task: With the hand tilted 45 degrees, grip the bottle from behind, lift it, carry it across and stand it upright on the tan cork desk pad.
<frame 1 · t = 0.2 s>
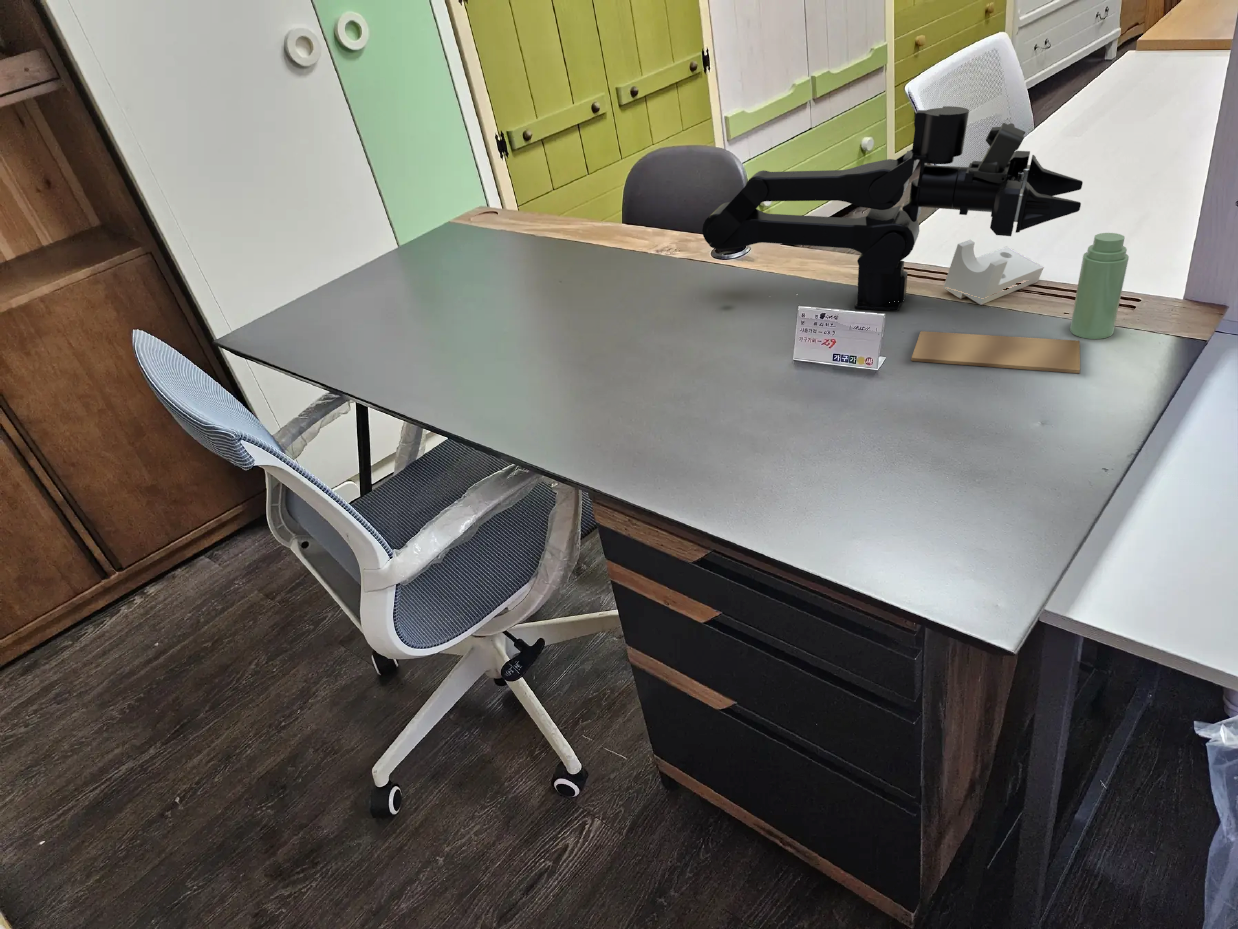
hand: (1081, 195, 112), 16 cm above the table, tool horizontal, fingers open, 9 cm apart
bottle: (1091, 331, 114), on the table
cork pad: (994, 352, 112), on the table
bracket: (994, 289, 131), on the table
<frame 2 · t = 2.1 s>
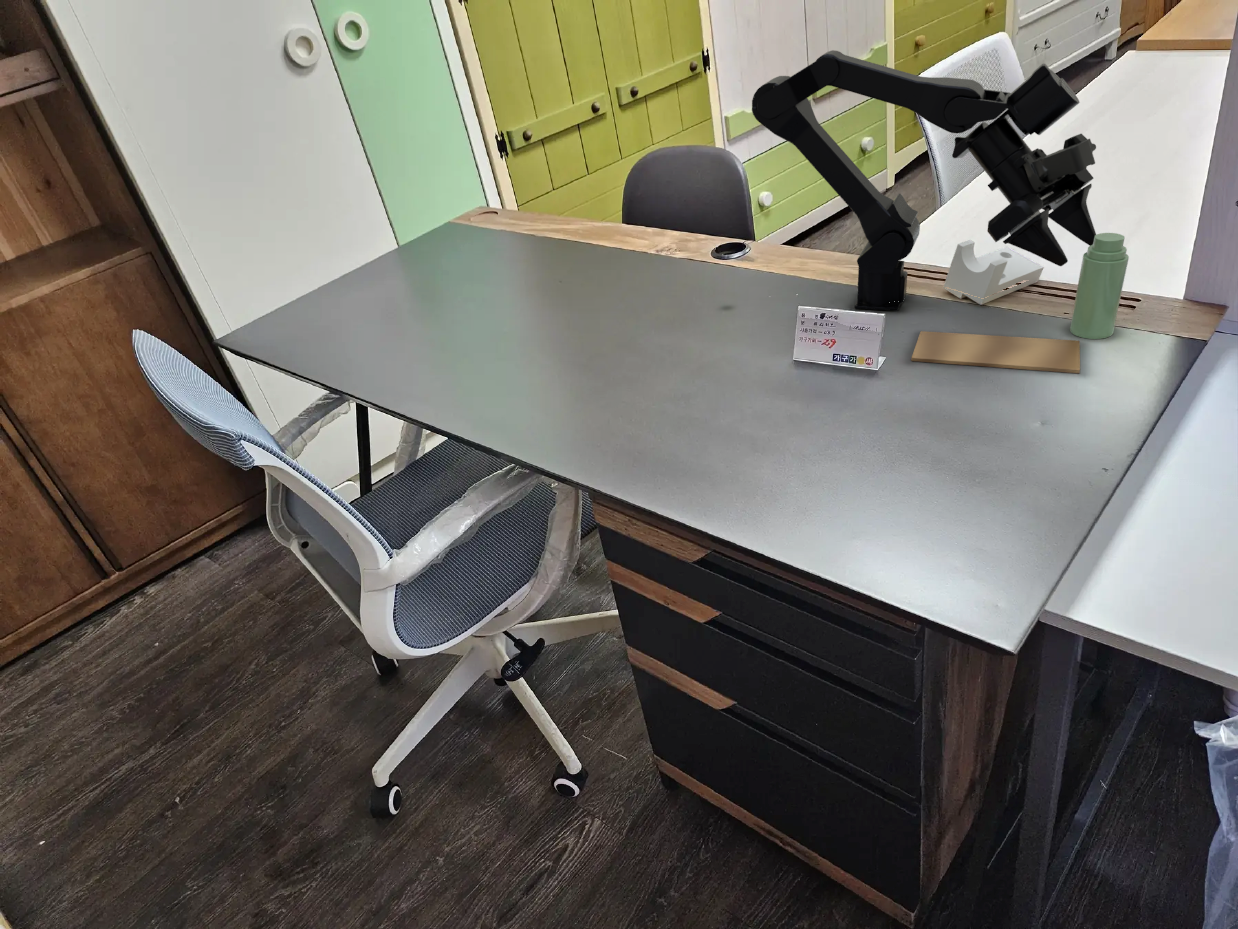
hand: (1079, 253, 111), 10 cm above the table, tool tilted 45°, fingers open, 9 cm apart
nothing on the table moved.
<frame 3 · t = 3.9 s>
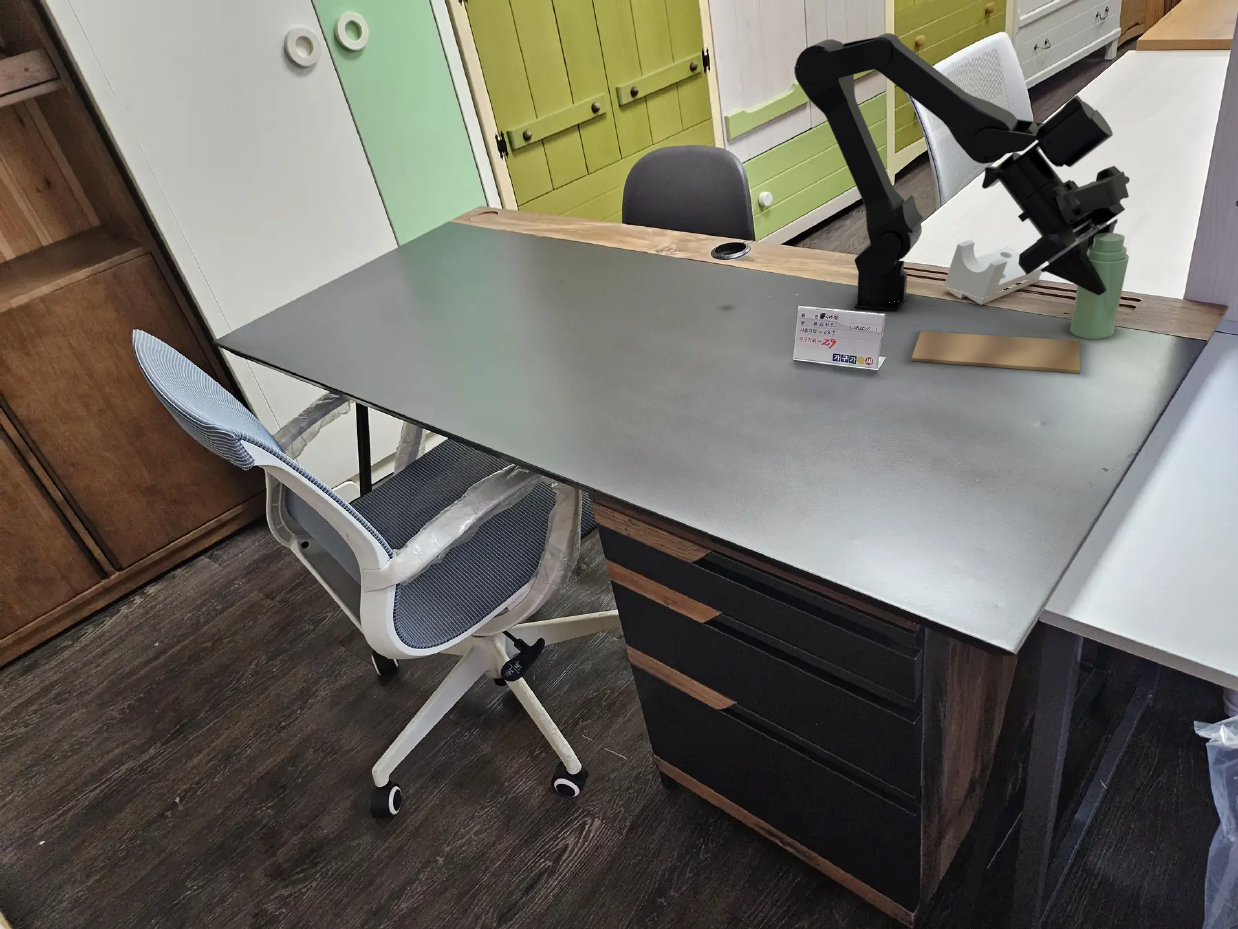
hand: (1111, 286, 110), 7 cm above the table, tool tilted 45°, fingers closed on bottle, 5 cm apart
bottle: (1091, 331, 114), on the table, touching gripper
everything else where it was.
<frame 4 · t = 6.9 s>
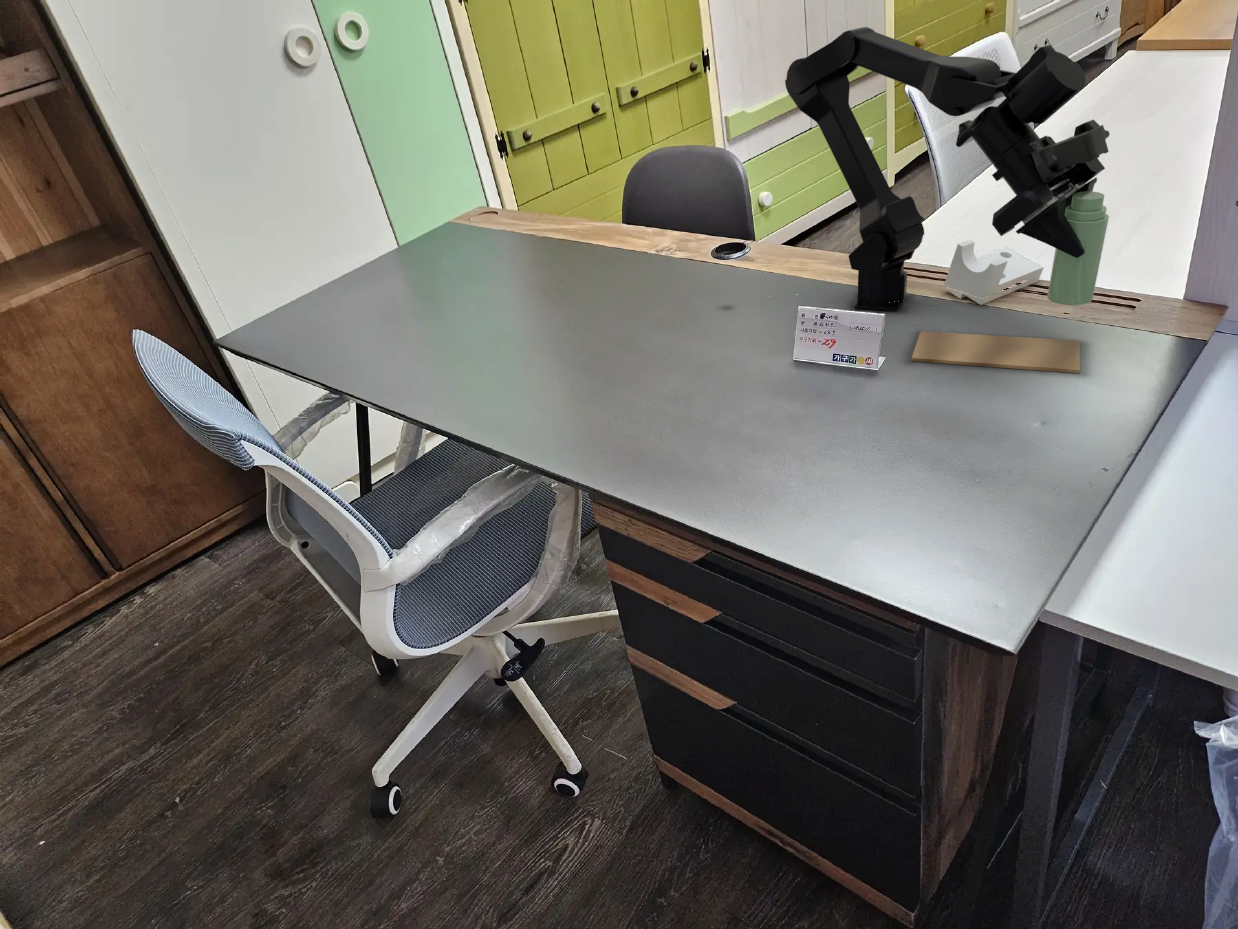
hand: (1090, 249, 104), 13 cm above the table, tool tilted 45°, fingers closed on bottle, 5 cm apart
bottle: (1069, 297, 108), point 7 cm above the table, touching gripper
everything else where it was.
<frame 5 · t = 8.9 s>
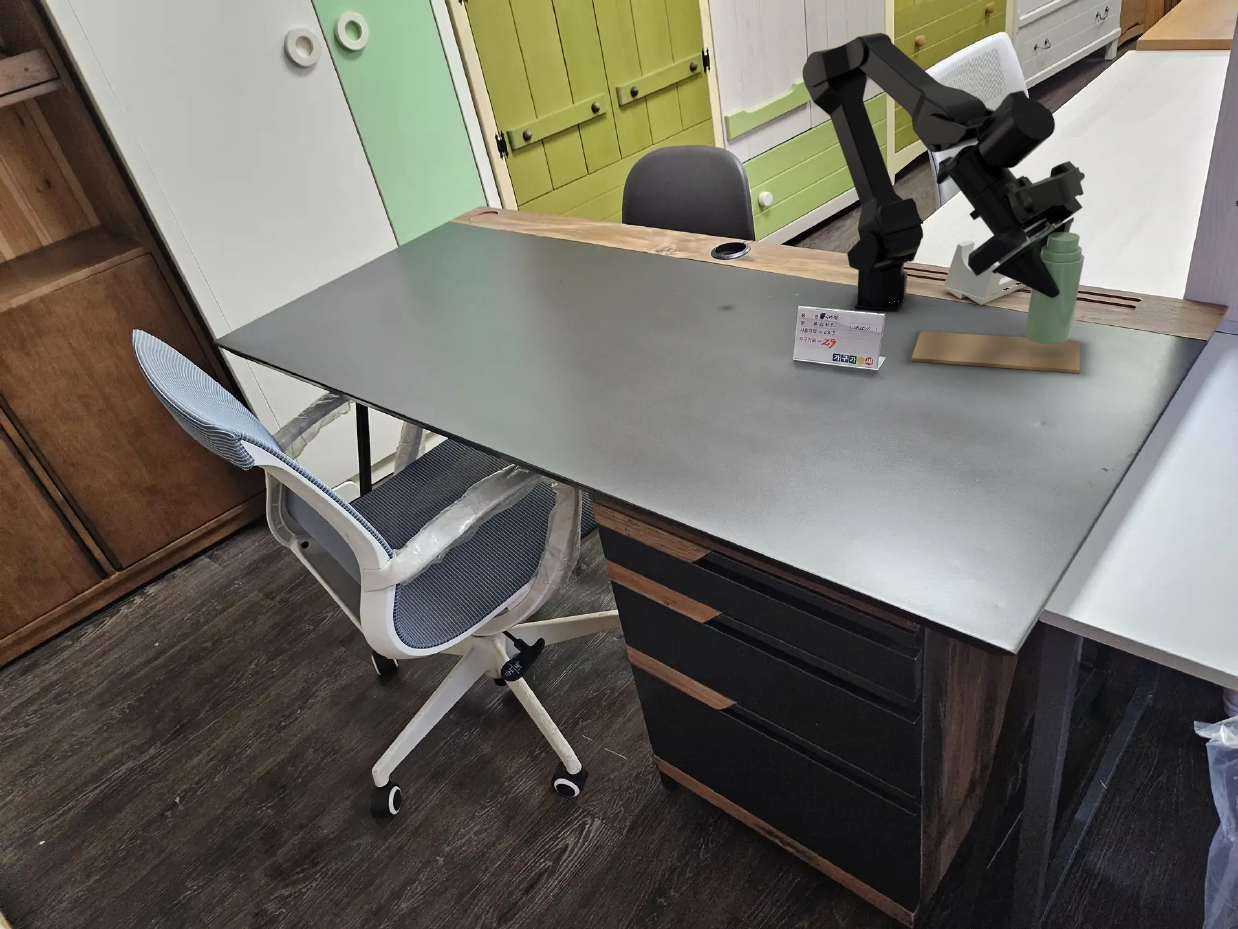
hand: (1066, 288, 104), 9 cm above the table, tool tilted 45°, fingers closed on bottle, 5 cm apart
bottle: (1046, 335, 109), point 3 cm above the table, touching gripper
everything else where it was.
when the fingers open (7 cm above the table, at t = 10.2 s): bottle stays where it is, resting on cork pad.
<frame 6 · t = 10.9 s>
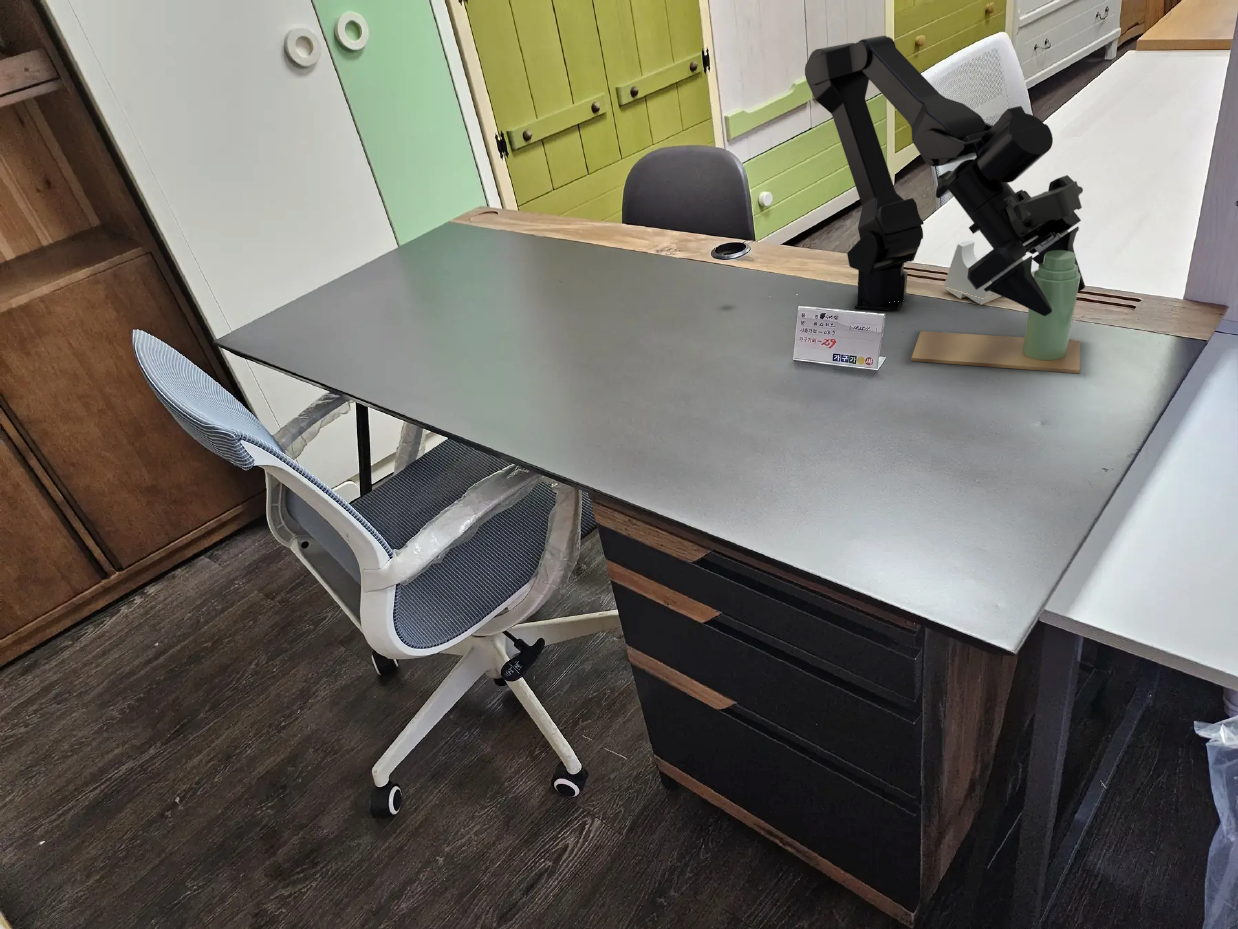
hand: (1065, 301, 105), 8 cm above the table, tool tilted 45°, fingers open, 9 cm apart
bottle: (1044, 352, 110), resting on cork pad
everything else where it was.
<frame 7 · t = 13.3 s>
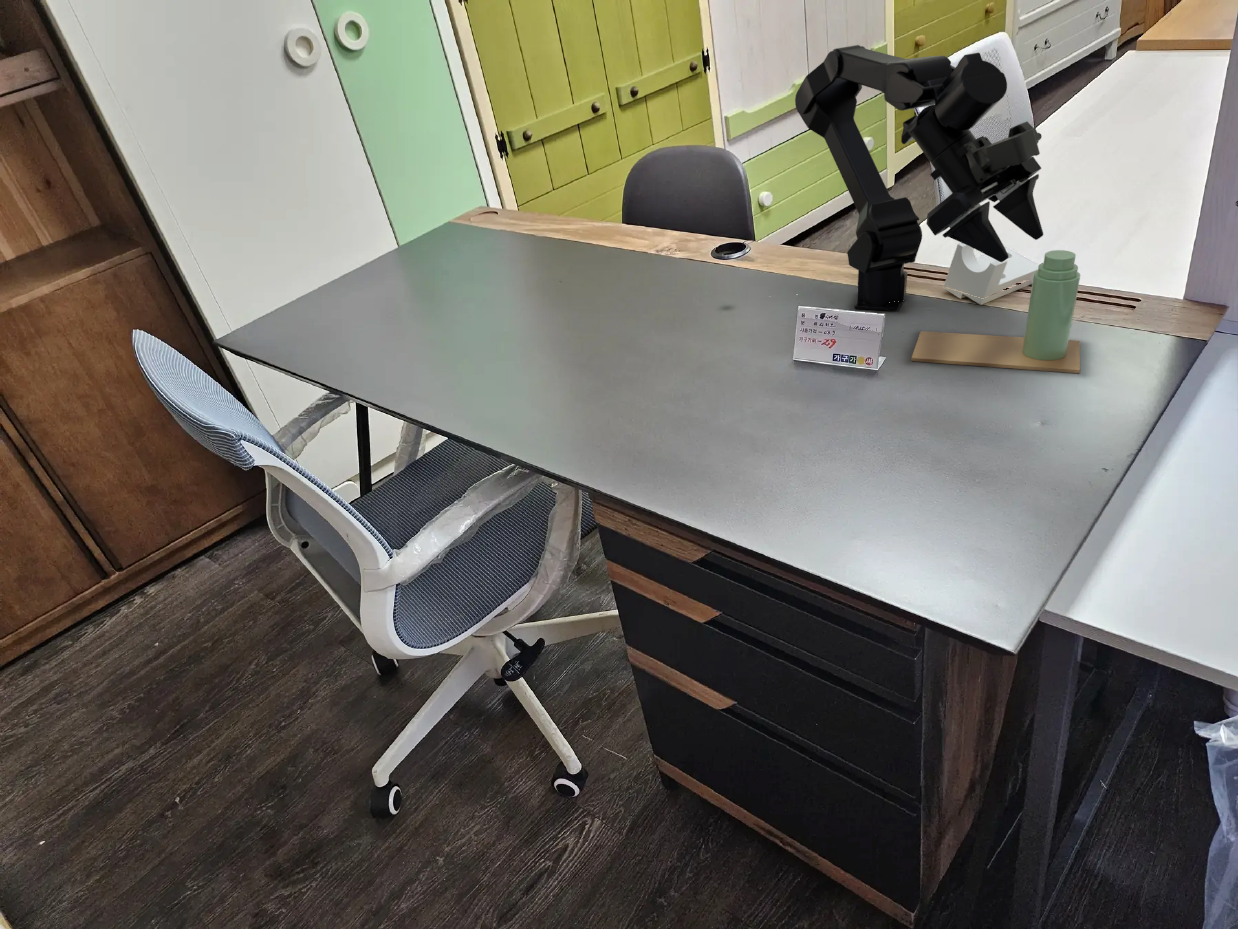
hand: (1023, 248, 106), 13 cm above the table, tool tilted 45°, fingers open, 9 cm apart
nothing on the table moved.
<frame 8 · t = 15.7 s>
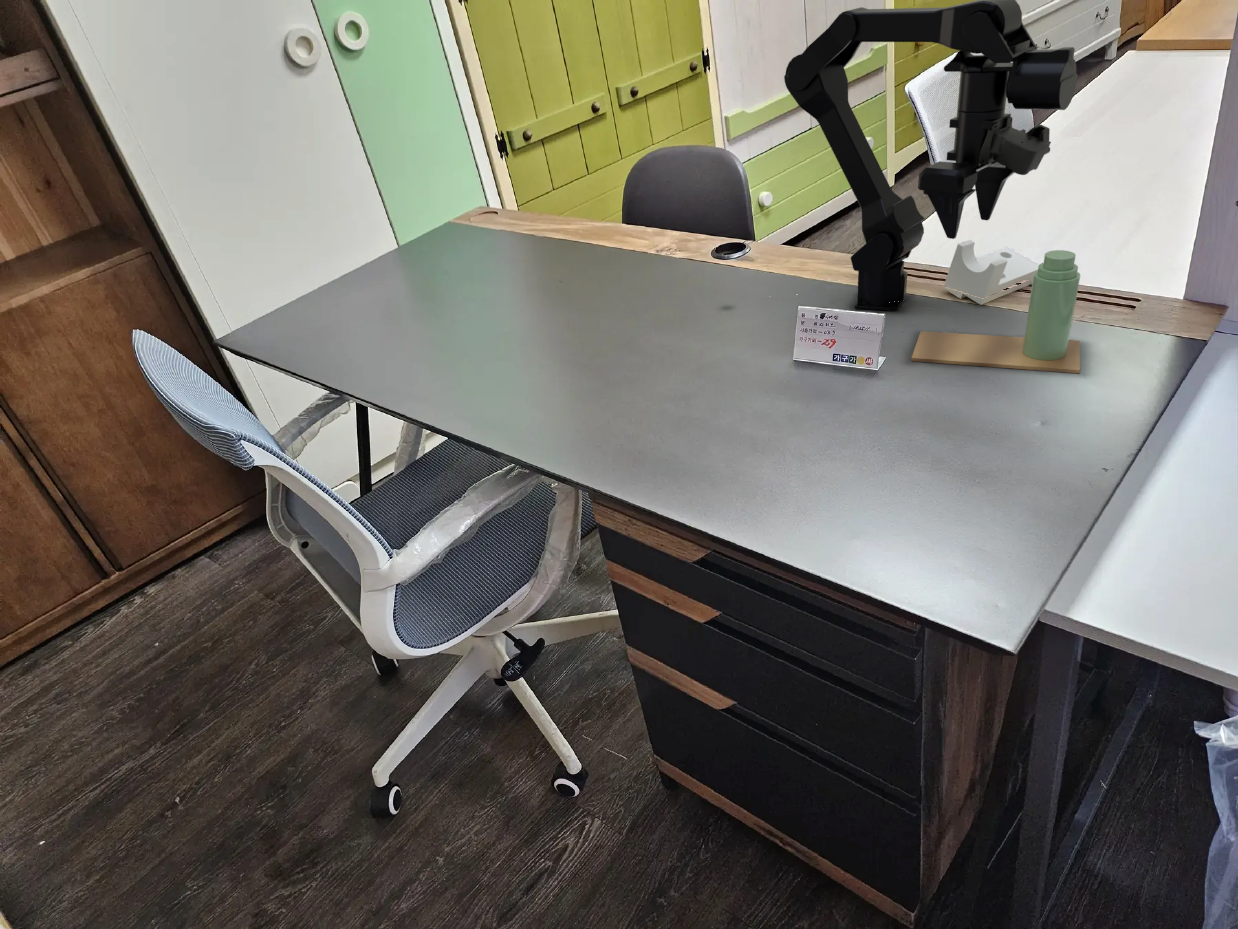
hand: (968, 228, 116), 13 cm above the table, tool pointing down, fingers open, 9 cm apart
nothing on the table moved.
at the end: bottle inside the target area on the cork pad (5.9 cm from its centre), point 0.5 cm above the cork pad's base; bottle tilted 0°; the gripper is holding nothing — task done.
